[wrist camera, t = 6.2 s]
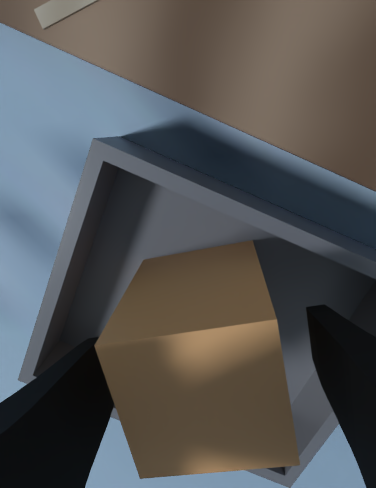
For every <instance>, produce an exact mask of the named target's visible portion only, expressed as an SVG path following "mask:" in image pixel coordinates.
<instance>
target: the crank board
mask: <svg viewBox="0 0 376 488" xmlns="http://www.w3.org/2000/svg"><path fill="white" fill-rule="evenodd" d="M0 23H2V24H5V25H7V26H9V27H11V28H13V29H16V30H18V31H20V32H22V33H25V34H27V35H29V36H31V37H33V38H36V39H38V40H40V41H42V42H45V43H47V44H49V45H51V46H53V47H56V48H58V49H60V50H62V51H65V52H67V53H69V54H71V55H73V56H76V57H78V58H80V59H82V60H85V61H87V62H89V63H91V64H93V65H96V66H98V67H100V68H102V69H105V70H107V71H109V72H111V73H113V74H116V75H118V76H120V77H122V78H125V79H127V80H129V81H131V82H133V83H136V84H138V85H140V86H142V87H145V88H147V89H149V90H151V91H153V92H156V93H158V94H160V95H162V96H165V97H167V98H169V99H171V100H173V101H176V102H178V103H180V104H182V105H185V106H187V107H189V108H191V109H193V110H196V111H198V112H200V113H202V114H205V115H207V116H209V117H211V118H213V119H216V120H218V121H220V122H222V123H225V124H227V125H229V126H231V127H233V128H236V129H238V130H240V131H242V132H245V133H247V134H249V135H251V136H253V137H256V138H258V139H260V140H262V141H265V142H267V143H269V144H271V145H273V146H276V147H278V148H280V149H282V150H285V151H287V152H289V153H291V154H293V155H296V156H298V157H300V158H302V159H305V160H307V161H309V162H311V163H313V164H316V165H318V166H320V167H322V168H325V169H327V170H329V171H331V172H333V173H336V174H338V175H340V176H342V177H345V178H347V179H349V180H351V181H353V182H356V183H358V184H360V185H362V186H365V187H367V188H369V189H371V190H373V191H376V0H0Z"/></svg>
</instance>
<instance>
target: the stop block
mask: <svg viewBox="0 0 376 488" xmlns="http://www.w3.org/2000/svg"><path fill="white" fill-rule="evenodd" d="M94 347H95V349H96V352H97V355H98V358H99V361H100V364H101V367H102V370H103V373H104V375H105V378H106V381H107V384H108V387H109V390H110V393H111V396H112V399H113V402H114V404H115V407H116V410H117V413H118V416H119V419H120V422H121V425H122V428H123V430H124V433H125V436H126V439H127V442H128V445H129V448H130V451H131V454H132V457H133V459H134V462H135V465H136V468H137V471H138V474H139V477H140V479H142V478H154V477H166V476H178V475H190V474H202V473H214V472H226V471H238V470H250V469H262V468H274V467H286V466H298V465H300V461H299V455H298V448H297V442H296V436H295V429H294V423H293V417H292V411H291V404H290V398H289V392H288V386H287V379H286V373H285V367H284V361H283V354H282V348H281V342H280V335H279V329H278V323H277V318H276V315H275V311H274V308H273V305H272V302H271V298H270V295H269V292H268V289H267V285H266V282H265V279H264V276H263V272H262V269H261V266H260V263H259V259H258V256H257V253H256V250H255V246H254V243H253V240H251V241H245V242H240V243H234V244H228V245H223V246H217V247H212V248H206V249H201V250H195V251H189V252H184V253H178V254H173V255H167V256H161V257H156V258H150V259H145V260H143V262H142V263H141V265H140V267H139V269H138V270H137V272H136V274H135V276H134V277H133V279H132V281H131V283H130V284H129V286H128V288H127V290H126V291H125V293H124V295H123V296H122V298H121V300H120V302H119V303H118V305H117V307H116V309H115V310H114V312H113V314H112V316H111V317H110V319H109V321H108V323H107V324H106V326H105V328H104V330H103V331H102V333H101V335H100V337H99V338H98V340H97V342H96V344H95V345H94Z"/></svg>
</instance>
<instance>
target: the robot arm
mask: <svg viewBox="0 0 376 488" xmlns="http://www.w3.org/2000/svg"><path fill="white" fill-rule="evenodd" d="M306 312H307V321H308V329H309V337H310V345H311V353H312V359H313V362H314V365H315V368H316V372H317V375H318V377H319V380H320V383H321V386H322V388H323V390H324V392H325V395H326V397H327V399H328V401H329V403H330V405H331V407H332V409H333V411H334V414H335V416H336V418H337V420H338V422H339V424H340V426H341V428H342V430H343V432H344V434H345V437H346V439H347V441H348V443H349V445H350V447H351V449H352V452H353V454H354V456H355V458H356V461H357V463H358V466H359V468H360V471H361V474H362V477H363V479H364V482H365V485H366V488H376V337H375V336H373V335H371V334H370V333H368V332H366V331H365V330H363V329H361V328H360V327H358V326H357V325H355V324H353V323H352V322H350V321H349V320H347V319H346V318H344V317H343V316H341V315H340V314H338V313H337V312H335V311H334V310H333V309H331V308H330V307H328V306H327V305H325V304H323V305H316V306H309V307H306ZM98 338H99V337H94V338H88V339H86V340H85V341H83V342H82V343H80V344H79V345H78V346H76V347H75V348H74V349H72V350H71V351H70V352H68V353H67V354H66V355H65V356H63V357H62V358H61V359H60V360H58V361H57V362H56V363H55V364H53V365H52V366H51V367H49V368H48V369H47V370H46V371H44V372H43V373H42V374H40V375H39V376H38V377H36V378H35V379H34V380H32V381H31V382H30V383H28V384H27V385H25V386H24V387H23V388H21V389H20V390H19V391H17V392H16V393H14V394H13V395H11V396H10V397H8V398H7V399H5V400H4V401H2V402H1V403H0V488H85V485H86V482H87V479H88V476H89V473H90V470H91V467H92V465H93V462H94V459H95V457H96V454H97V451H98V449H99V446H100V443H101V441H102V438H103V435H104V433H105V430H106V427H107V425H108V422H109V419H110V416H111V413H112V411H113V407H114V402H113V399H112V396H111V393H110V390H109V387H108V384H107V381H106V378H105V375H104V373H103V370H102V367H101V364H100V361H99V358H98V355H97V352H96V349H95V347H94V345H95V344H96V342H97V340H98Z"/></svg>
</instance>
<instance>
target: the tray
mask: <svg viewBox="0 0 376 488" xmlns="http://www.w3.org/2000/svg"><path fill="white" fill-rule="evenodd" d="M251 240H253V243H254V246H255V250H256V253H257V256H258V259H259V263H260V266H261V269H262V272H263V276H264V279H265V282H266V285H267V289H268V292H269V295H270V298H271V302H272V305H273V308H274V311H275V315H276V318H277V323H278V329H279V335H280V342H281V348H282V354H283V361H284V367H285V373H286V379H287V386H288V392H289V398H290V404H291V411H292V417H293V423H294V429H295V436H296V442H297V448H298V455H299V461H300V465H298V466H286V467H274V468H262V469H250V470H246V471H248V472H251V473H253V474H256V475H258V476H261V477H263V478H266V479H269V480H271V481H274V482H276V483H279V484H281V485H284V486H286V487H289V488H291V486H292V485H293V484H294V482H295V481H296V480H297V478H298V477H299V476H300V474H301V473H302V472H303V470H304V469H305V468H306V466H307V465H308V464H309V462H310V461H311V460H312V458H313V457H314V456H315V455H316V453H317V452H318V451H319V449H320V448H321V447H322V445H323V444H324V443H325V441H326V440H327V439H328V437H329V436H330V435H331V433H332V432H333V431H334V429H335V428H336V427H337V425H338V424H339V422H338V420H337V418H336V416H335V414H334V411H333V409H332V407H331V405H330V403H329V401H328V399H327V397H326V395H325V392H324V390H323V388H322V386H321V383H320V380H319V377H318V375H317V372H316V368H315V365H314V362H313V359H312V353H311V345H310V337H309V329H308V321H307V312H306V307H309V306H316V305H323V304H325V305H327V306H328V307H330V308H331V309H333V310H334V311H335V312H337V313H338V314H340V315H341V316H343V317H344V318H346V319H347V320H349V321H350V322H352V323H353V324H355V325H357V326H358V327H360V328H361V329H363V330H365V331H366V332H368V333H370V334H371V335H373V336H375V337H376V249H374V248H372V247H369V246H367V245H365V244H362V243H360V242H358V241H356V240H353V239H351V238H349V237H347V236H344V235H342V234H340V233H338V232H335V231H333V230H331V229H328V228H326V227H324V226H322V225H319V224H317V223H315V222H313V221H310V220H308V219H306V218H303V217H301V216H299V215H297V214H294V213H292V212H290V211H288V210H285V209H283V208H281V207H279V206H276V205H274V204H272V203H269V202H267V201H265V200H263V199H260V198H258V197H256V196H254V195H251V194H249V193H247V192H244V191H242V190H240V189H238V188H235V187H233V186H231V185H229V184H226V183H224V182H222V181H220V180H217V179H215V178H213V177H210V176H208V175H206V174H204V173H201V172H199V171H197V170H195V169H192V168H190V167H188V166H185V165H183V164H181V163H179V162H176V161H174V160H172V159H170V158H167V157H165V156H163V155H161V154H158V153H156V152H154V151H151V150H149V149H147V148H145V147H142V146H140V145H138V144H136V143H133V142H131V141H129V140H126V139H124V138H122V137H120V136H119V137H106V138H93V140H92V143H91V147H90V150H89V153H88V156H87V159H86V163H85V166H84V169H83V172H82V175H81V179H80V182H79V185H78V188H77V192H76V195H75V198H74V201H73V204H72V208H71V211H70V214H69V217H68V220H67V224H66V227H65V230H64V233H63V237H62V240H61V243H60V246H59V249H58V253H57V256H56V259H55V262H54V265H53V269H52V272H51V275H50V278H49V282H48V285H47V288H46V291H45V294H44V298H43V301H42V304H41V307H40V310H39V314H38V317H37V320H36V323H35V326H34V330H33V333H32V336H31V339H30V343H29V346H28V349H27V352H26V355H25V359H24V362H23V365H22V368H21V371H20V375H19V378H18V380H19V381H21V382H24V383H26V384H28V383H30V382H31V381H32V380H34V379H35V378H36V377H38V376H39V375H40V374H42V373H43V372H44V371H46V370H47V369H48V368H49V367H51V366H52V365H53V364H55V363H56V362H57V361H58V360H60V359H61V358H62V357H63V356H65V355H66V354H67V353H68V352H70V351H71V350H72V349H74V348H75V347H76V346H78V345H79V344H80V343H82V342H83V341H85V340H86V339H88V338H94V337H100V335H101V333H102V331H103V330H104V328H105V326H106V324H107V323H108V321H109V319H110V317H111V316H112V314H113V312H114V310H115V309H116V307H117V305H118V303H119V302H120V300H121V298H122V296H123V295H124V293H125V291H126V290H127V288H128V286H129V284H130V283H131V281H132V279H133V277H134V276H135V274H136V272H137V270H138V269H139V267H140V265H141V263H142V262H143V260H145V259H150V258H156V257H161V256H167V255H173V254H178V253H184V252H189V251H195V250H201V249H206V248H212V247H217V246H223V245H228V244H234V243H240V242H245V241H251ZM110 417H112V418H115V419H117V420H120V419H119V416H118V413H117V410H116V407H115V404H114V407H113V411H112V413H111V416H110Z"/></svg>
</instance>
